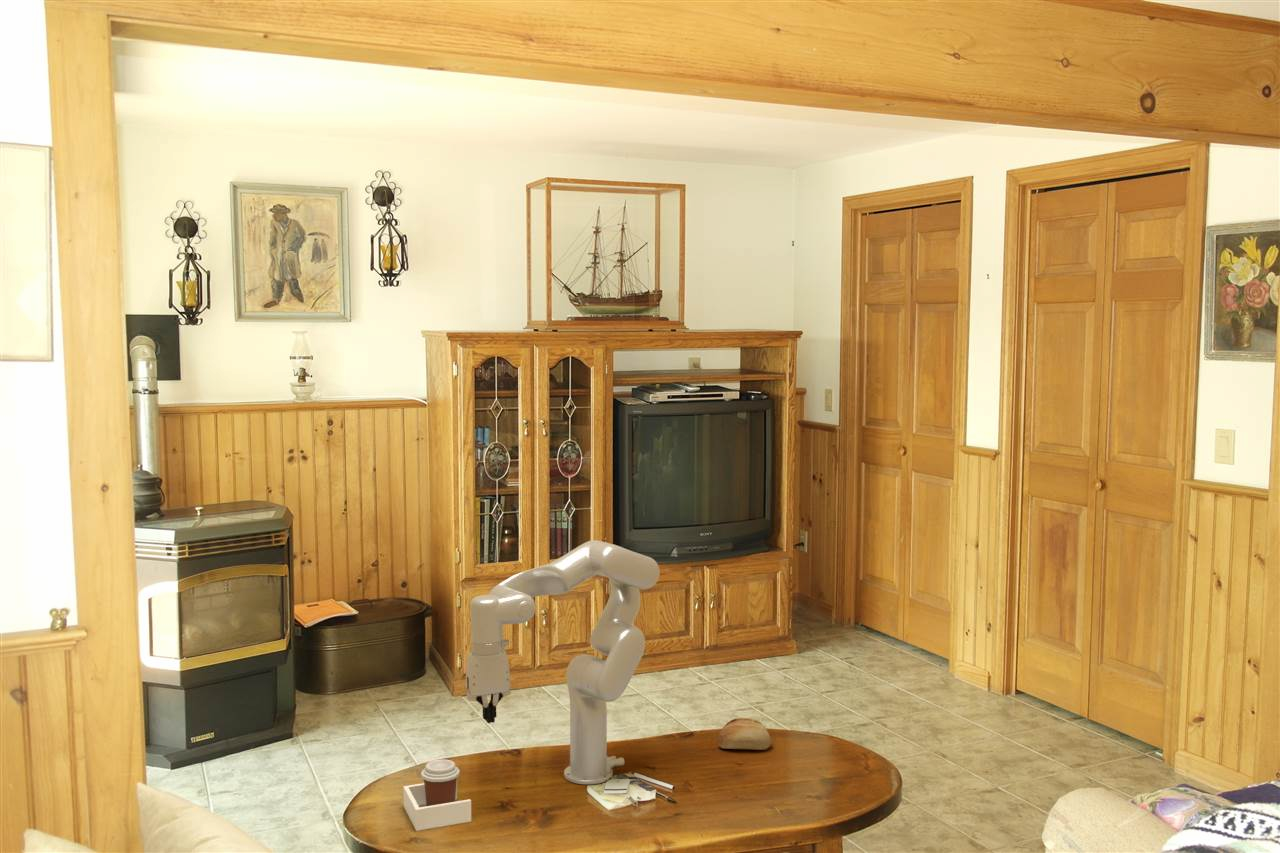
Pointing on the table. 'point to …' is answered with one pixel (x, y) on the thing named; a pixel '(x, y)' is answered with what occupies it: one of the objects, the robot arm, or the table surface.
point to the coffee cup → (440, 781)
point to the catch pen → (433, 809)
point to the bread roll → (744, 735)
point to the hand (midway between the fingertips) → (489, 721)
